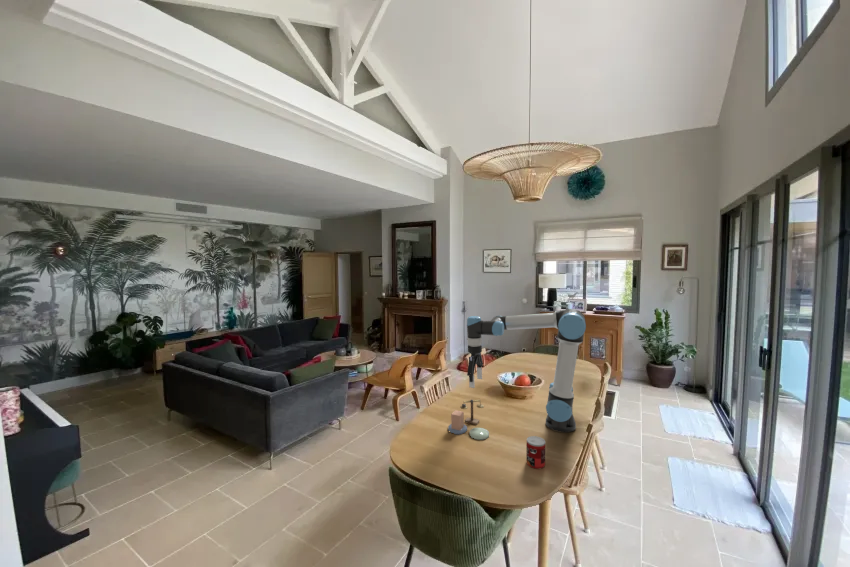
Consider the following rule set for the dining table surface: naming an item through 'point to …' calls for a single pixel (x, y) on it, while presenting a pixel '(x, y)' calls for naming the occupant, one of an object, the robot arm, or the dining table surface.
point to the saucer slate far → (457, 430)
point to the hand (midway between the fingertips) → (475, 383)
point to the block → (457, 420)
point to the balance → (471, 420)
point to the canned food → (535, 452)
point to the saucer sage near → (479, 433)
